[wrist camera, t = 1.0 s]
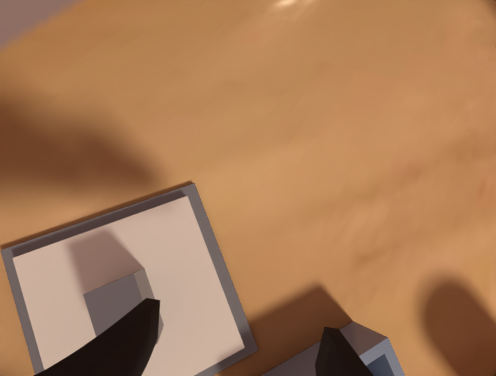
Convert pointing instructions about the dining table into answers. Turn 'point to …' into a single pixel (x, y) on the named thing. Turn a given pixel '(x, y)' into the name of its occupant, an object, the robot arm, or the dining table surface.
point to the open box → (365, 345)
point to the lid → (132, 290)
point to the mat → (115, 216)
